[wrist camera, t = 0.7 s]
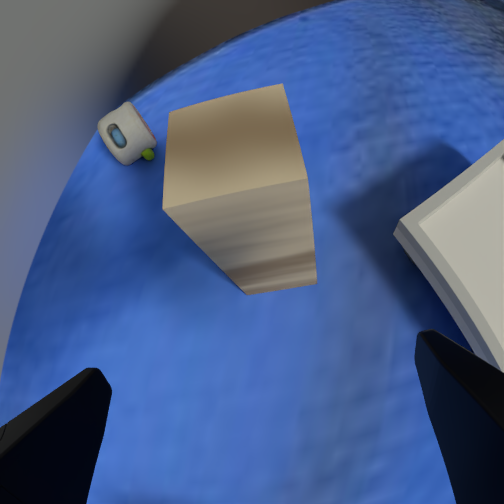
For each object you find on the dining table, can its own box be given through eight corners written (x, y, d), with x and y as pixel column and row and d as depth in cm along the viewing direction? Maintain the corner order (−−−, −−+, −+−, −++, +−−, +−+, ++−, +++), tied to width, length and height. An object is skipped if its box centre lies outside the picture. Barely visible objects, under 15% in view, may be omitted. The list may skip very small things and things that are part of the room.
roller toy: (129, 181, 29) (97, 148, 24) (115, 146, 32) (88, 114, 26) (166, 156, 29) (138, 117, 24) (147, 124, 32) (123, 89, 26)
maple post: (317, 283, 22) (308, 178, 10) (247, 295, 22) (162, 209, 11) (305, 219, 24) (282, 83, 12) (240, 231, 24) (169, 112, 12)
